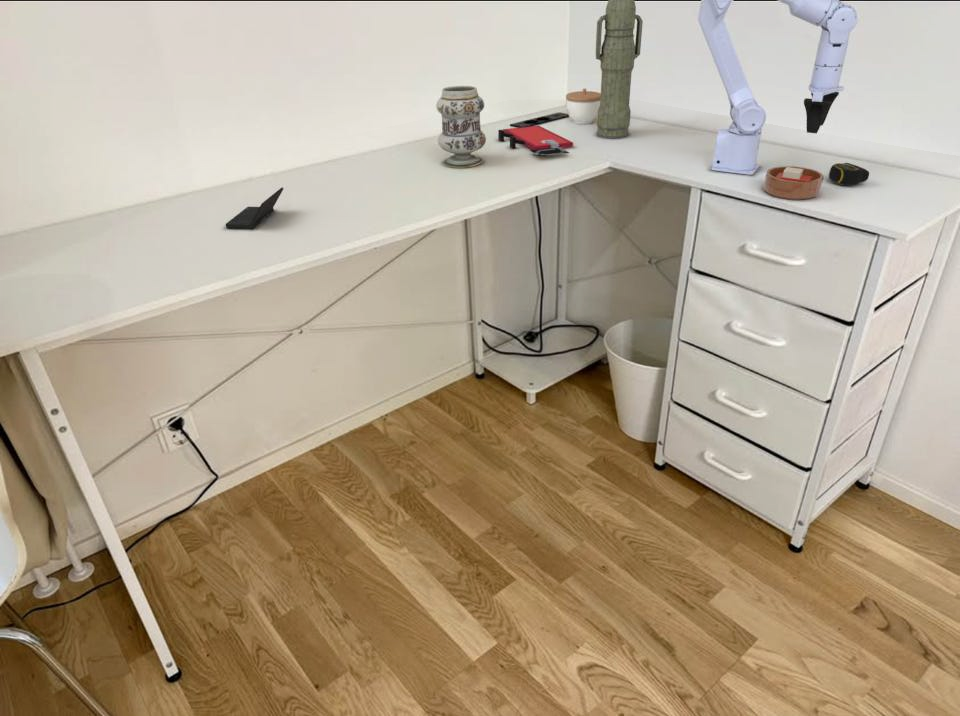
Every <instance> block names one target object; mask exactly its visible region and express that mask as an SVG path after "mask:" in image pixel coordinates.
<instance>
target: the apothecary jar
mask: <svg viewBox="0 0 960 716" xmlns="http://www.w3.org/2000/svg"><path fill="white" fill-rule="evenodd" d="M435 108H436V110H437V112H438V113H439V114H441V133H440V134H439V136H438V137H437V144H438V146H439V147H440V148H441V149H442V150H443V151H444V152H447V153H450V154H453V155H450V156H449V157H447V158H445V159H444V160H443V165H444V166H446V167H449V168H453V169H454V168H455V169H456V168H457V169H466V168H473V167H477V166H479V165H481V164H482V163H483V159H482V157H480V156H479V155H478V156H477V155H475V154H472V153H474V152H476V151H479V150H480V149H482V148H483V147H484V146H485V145H486V143H487V137H486V134H485V133H484V132H483V130H482V129H481V112H482V111H483V110H484V108H485V102H484V99H483V98H482V97H481V96H480V95H479V92H478V89H477V87H476V86H472V85H453V86H446V87H443V88H442V90H441V96H440V98H439V99H438V100H437V101H436V105H435Z"/></svg>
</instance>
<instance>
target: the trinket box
mask: <svg viewBox="0 0 960 716" xmlns="http://www.w3.org/2000/svg"><path fill="white" fill-rule="evenodd" d="M600 97H601V92H598V91H592V90H591V91H589V90H587V88H582V91H580V90H579V91H572V92H569V93H566V95H565V100H566V101H565V103H566V104H565V107H566V112H567V115H568V117H569V119H571V120H572V122H573V123H574V124H578V125H588V124H592V123H594V121H595V120H597V116H598V109H599V106H600Z"/></svg>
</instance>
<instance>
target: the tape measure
mask: <svg viewBox="0 0 960 716" xmlns="http://www.w3.org/2000/svg"><path fill="white" fill-rule="evenodd" d="M869 177H870V171H869V170H868V169H865V168H864V167H862V166H859V165H856V164H854V163H853V164H852V163H849V162H844V163H841V162H840V163H838V162H837V163H834V164H833V165H831V167H830V169H829V173H828V179H829V180H830V181H831V182H833V183H836V184H837V185H840V186H845V185H850V186H853V185H858V184H860V183H864V182H866V181H867V180H869Z"/></svg>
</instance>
